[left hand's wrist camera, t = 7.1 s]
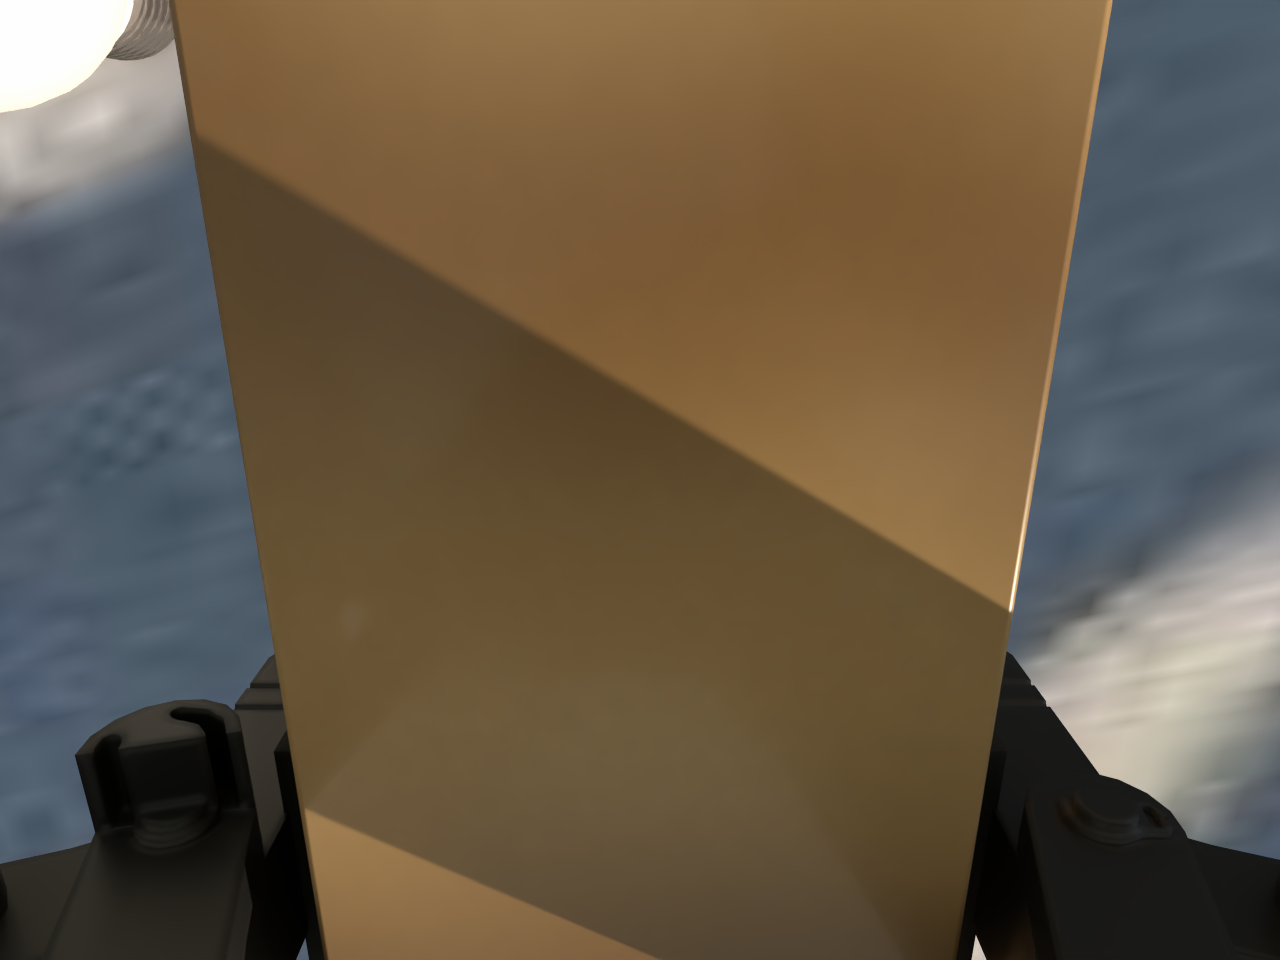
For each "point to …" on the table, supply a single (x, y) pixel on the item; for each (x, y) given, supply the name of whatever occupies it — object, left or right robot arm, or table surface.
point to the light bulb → (72, 43)
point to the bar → (640, 448)
